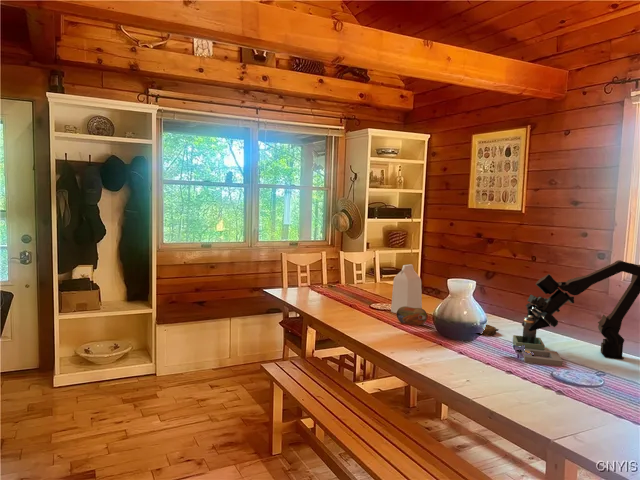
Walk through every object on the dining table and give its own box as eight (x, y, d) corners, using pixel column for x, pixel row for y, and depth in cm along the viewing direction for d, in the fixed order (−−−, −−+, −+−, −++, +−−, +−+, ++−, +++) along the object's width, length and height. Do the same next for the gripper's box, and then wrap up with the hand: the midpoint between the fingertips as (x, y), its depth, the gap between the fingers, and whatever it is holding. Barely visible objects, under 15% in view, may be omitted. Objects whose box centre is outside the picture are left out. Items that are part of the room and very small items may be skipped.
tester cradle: (556, 356, 178) (556, 350, 178) (562, 366, 167) (562, 360, 167) (520, 352, 182) (521, 346, 181) (524, 362, 171) (525, 356, 171)
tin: (396, 322, 224) (396, 305, 223) (398, 320, 226) (398, 304, 226) (426, 326, 217) (426, 309, 216) (427, 325, 219) (428, 308, 219)
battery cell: (535, 345, 188) (538, 315, 186) (534, 349, 184) (537, 318, 182) (522, 343, 191) (525, 313, 189) (521, 347, 186) (523, 316, 184)
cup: (539, 345, 191) (540, 337, 190) (544, 353, 181) (544, 345, 180) (512, 342, 194) (513, 335, 194) (515, 350, 184) (516, 342, 183)
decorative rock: (460, 329, 216) (482, 339, 202) (460, 320, 215) (483, 330, 201) (478, 325, 220) (502, 335, 206) (479, 317, 219) (502, 326, 206)
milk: (406, 316, 235) (408, 267, 232) (390, 311, 244) (392, 264, 242) (422, 313, 242) (423, 265, 239) (406, 308, 251) (407, 262, 249)
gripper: (531, 284, 194) (504, 308, 195) (551, 293, 175) (521, 320, 177) (549, 302, 194) (521, 326, 196) (571, 313, 176) (540, 340, 177)
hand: (525, 328), depth 186 cm, fingers open, 6 cm apart
